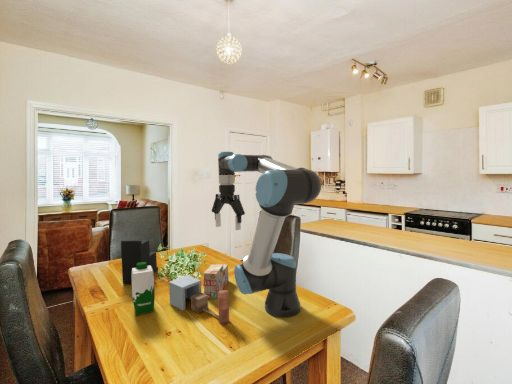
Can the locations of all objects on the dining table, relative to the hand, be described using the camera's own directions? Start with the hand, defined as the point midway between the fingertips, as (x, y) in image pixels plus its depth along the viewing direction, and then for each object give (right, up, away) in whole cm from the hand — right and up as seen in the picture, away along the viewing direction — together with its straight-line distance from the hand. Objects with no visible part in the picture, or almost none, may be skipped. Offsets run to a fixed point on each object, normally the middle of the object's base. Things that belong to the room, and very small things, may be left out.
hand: (227, 228), depth 134 cm
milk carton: (-35, -34, -15) cm, 50 cm away
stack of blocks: (-6, -32, +6) cm, 33 cm away
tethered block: (-5, -33, -20) cm, 39 cm away
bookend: (-52, -31, +25) cm, 66 cm away
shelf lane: (-18, -33, -9) cm, 38 cm away
